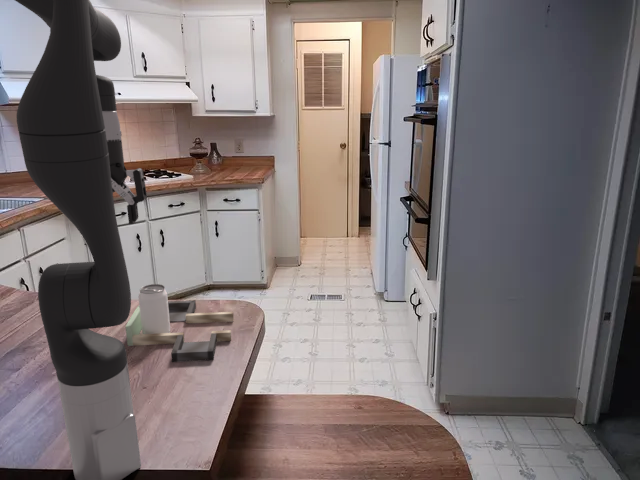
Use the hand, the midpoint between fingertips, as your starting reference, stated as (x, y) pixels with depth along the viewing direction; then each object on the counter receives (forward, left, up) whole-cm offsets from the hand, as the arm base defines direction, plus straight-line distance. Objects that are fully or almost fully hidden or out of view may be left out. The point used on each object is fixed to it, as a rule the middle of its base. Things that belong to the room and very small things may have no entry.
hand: (109, 223), depth 87 cm
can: (+9, -13, -32) cm, 36 cm away
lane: (+5, -19, -32) cm, 37 cm away
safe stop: (+13, -10, -32) cm, 36 cm away
